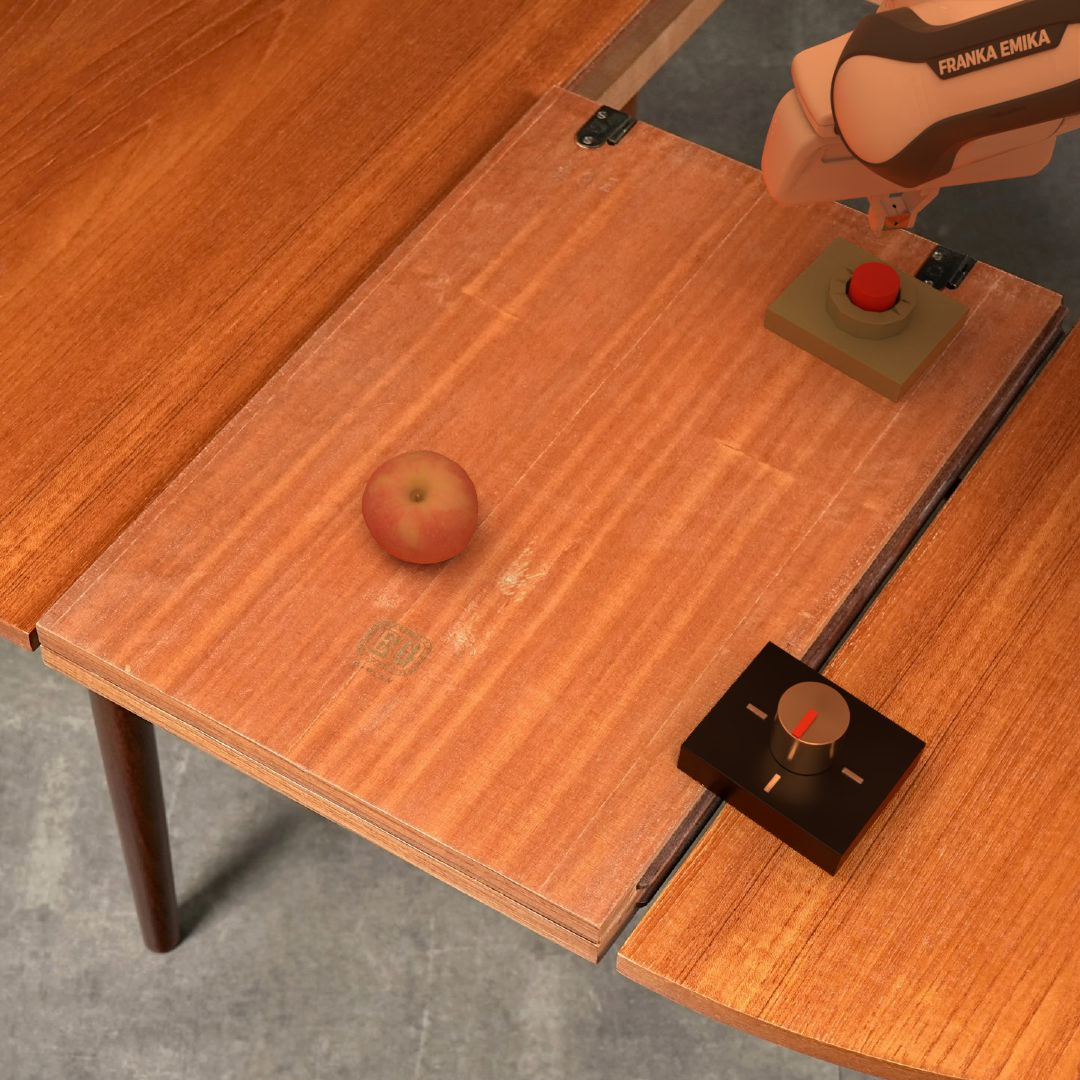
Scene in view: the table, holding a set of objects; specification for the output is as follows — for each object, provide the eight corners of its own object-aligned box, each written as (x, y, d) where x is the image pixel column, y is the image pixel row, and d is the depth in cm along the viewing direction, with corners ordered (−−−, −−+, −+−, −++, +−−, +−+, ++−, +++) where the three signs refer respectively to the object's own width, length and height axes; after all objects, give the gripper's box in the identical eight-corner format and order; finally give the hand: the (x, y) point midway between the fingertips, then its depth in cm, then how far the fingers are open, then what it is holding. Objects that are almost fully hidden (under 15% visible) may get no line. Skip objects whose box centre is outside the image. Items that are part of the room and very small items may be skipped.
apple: (347, 563, 118) (338, 495, 111) (397, 484, 122) (392, 413, 115) (450, 605, 116) (447, 538, 109) (497, 522, 120) (498, 453, 113)
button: (905, 292, 128) (909, 276, 127) (879, 319, 127) (884, 303, 125) (864, 270, 130) (868, 254, 128) (839, 297, 128) (843, 281, 127)
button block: (963, 327, 131) (975, 291, 128) (896, 403, 127) (906, 368, 124) (833, 255, 136) (841, 218, 132) (763, 327, 131) (770, 291, 128)
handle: (793, 700, 109) (803, 666, 105) (852, 738, 107) (864, 705, 104) (755, 748, 107) (764, 715, 103) (815, 788, 105) (826, 755, 102)
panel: (917, 764, 110) (927, 741, 107) (833, 877, 105) (841, 855, 102) (763, 663, 114) (769, 638, 111) (676, 767, 109) (680, 744, 106)
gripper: (1062, 23, 114) (1010, 176, 126) (770, 57, 111) (743, 210, 123) (1098, 85, 111) (1040, 237, 122) (797, 122, 108) (767, 273, 119)
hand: (889, 224), depth 122 cm, fingers closed
